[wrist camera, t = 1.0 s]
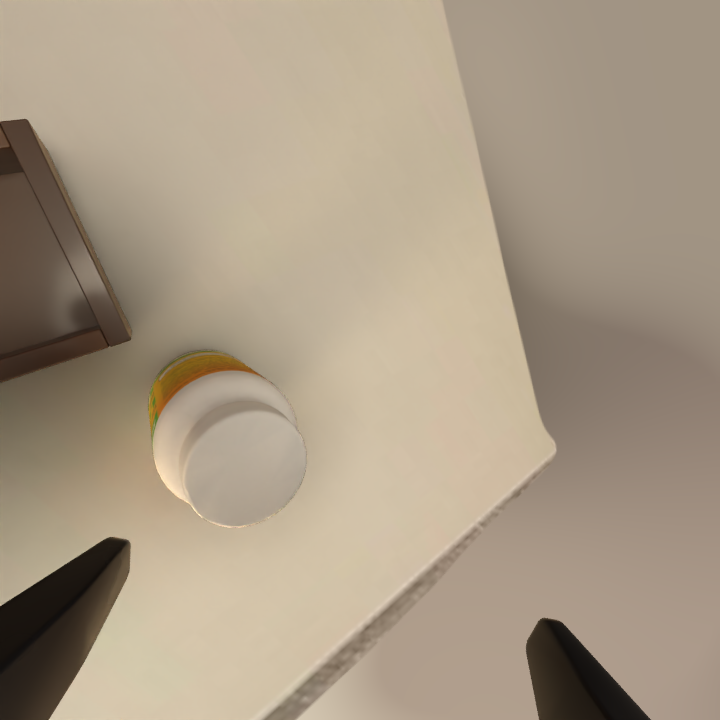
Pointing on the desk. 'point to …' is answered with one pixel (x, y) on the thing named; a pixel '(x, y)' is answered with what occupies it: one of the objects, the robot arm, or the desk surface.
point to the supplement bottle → (225, 439)
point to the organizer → (46, 266)
